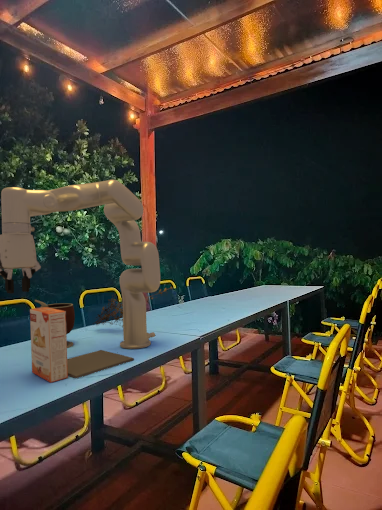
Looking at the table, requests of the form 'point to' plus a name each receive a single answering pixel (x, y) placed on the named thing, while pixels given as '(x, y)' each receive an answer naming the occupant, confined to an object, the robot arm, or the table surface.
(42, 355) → the cracker box
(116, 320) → the dried plant
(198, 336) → the table surface
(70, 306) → the mate gourd
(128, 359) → the mat
